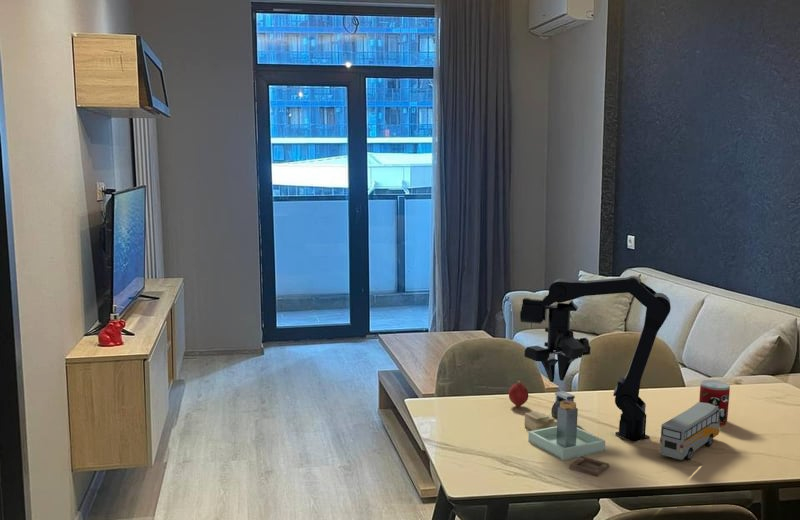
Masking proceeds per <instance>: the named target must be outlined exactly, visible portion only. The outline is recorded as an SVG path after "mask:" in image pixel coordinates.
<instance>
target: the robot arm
mask: <svg viewBox="0 0 800 520" xmlns="http://www.w3.org/2000/svg"><path fill="white" fill-rule="evenodd" d="M627 293H629V294H630V295H631V296H633V297H634V298H635V299H636V300H637V301H638V302H639V303H640V304H642V306H644V307H645V316H644V322H643V327H642V330H641V333H640V336H639V339H638V342H637V345H636V348H635V350H634V353H633V356H632V359H631V362H630V364H629V368H628V370H627V372H626V374H625V375H624V377H623V376H621V375H618V380H617V385H616V386H615V387H614V390H613V395H612V396H613V397H615V398H614V404H615V406H616V407H617V408H618V409H619V410H620V411H621V414H620V419H619V425H618V431H616V432H614V433H615V436H618V437H620V438H622V439H625V440H627V441H628V442H631V443H635V442H639V441H644V440H648V439H650V437H651V436H649V435H647V434H646V429H647V428H646V427H647V414H646V406H647V405H646V402H645V401H644V400H643V399H642V398H641V397H640V388H641V381H642V378H643V375H644V371H645V369H646V366H647V363H648V361H649V357H650V354H651V351H652V348H653V346H654V344H655V340H656V338H657V335H658V333H659V330H660V329H661V328H662V326H663V325H664V324H665V321H666V320H667V318H668V316H669V315H670V312H671V308H672V307H671V306H672V305H671V300H670V297H668V296H667V295H666V294H664V293H662V292H657V291H655V290H654V289H653V288H651V287H650V286H648V285H647V284H645V283H644V282H642V281H641V280H640V279H639V278H638V277H636V276H635V275H633V276H632V275H631V276H627V277H617V278H605V279H603V278H602V279H596V280H595V279H593V280H579V279H573V278H557V279H556V280H554V281H553V283H552V284H551V285H549V287H548V294H547V295H545V296H544V297H543V298H542V299H536V298H529V297H524V298H523V299H522V304H521V309H520V313H519V315H520V316H519V318H520V323H526V324H537V325H542V324H543V322H547V318H548V325H547V326H548V327H545V328H544V332H547V341H545V342H544V347H542V346H541V345H533V346H526V348H525V349H524V357H525V358H527V359H530V360H532V361H534V362H541V364H542V366H543V368H544V371H545V373H546V375H547V378H548V379H549V382H551V383H554V380H555V374H556V373H555V372H556V371H555V369H556V364H557V370H558V378H559V381H563V382H564V381H565V377H566V374H567V372H568V371H569V368H570V366H571V364H572V362H574V361H575V360H578V359H579V358H582V357H583V356H587V355H591V346H590V343H589V342H590V341H589V339H588V338H587V337H581V338H575V337H574V331H573V329H571V325H570V324H571V312H577V311H578V309H579V306H578V305H577V304H575V303H574V300H576V299H580V298H583V297H588V296H589V297H591V296H602V295H603V296H604V295H616V294H617V295H618V294H627ZM565 302H566V303H565ZM567 302H568V303H567ZM555 303H557V305H554V304H555ZM556 357H557V359H556Z"/></svg>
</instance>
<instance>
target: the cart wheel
mask: <svg viewBox="0 0 800 520" xmlns="http://www.w3.org/2000/svg"><path fill="white" fill-rule="evenodd" d="M554 395H555V401H554V404H552V406H551V407H552V408H551V416H552V417H554V418H556V419H557V417H558V406H560V401H564V400H568V401H573V402H575V398H576V396H575V395H573V394H572V393H569V392H568V391H567V392H566V391H564V390H560V391H555V392H554Z"/></svg>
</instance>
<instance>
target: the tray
mask: <svg viewBox="0 0 800 520" xmlns="http://www.w3.org/2000/svg"><path fill="white" fill-rule="evenodd" d="M556 439H557V426H554V427H549V428H544V429H539V430H534V431H531V430H529V431H528V443H531V444H533V445H534V446H536V447H537V448H540V449H542V450H543V451H545V452H547V453H549V454H551V455H552V456H554V457H556V458H558V459H559V460H561V461H566V460H571V459H575V458H580V457H581V456H583V457H586V456H588V455H594V454H596V453H597V454H598V453H602V452H605V451H606V440H604V439H603V438H601V437H599V436H596V435H594V434H592V433H589V432H588V431H586V430H584V429H582V428H580V427H578V426H577V436H576V446H572V447H567V448H565V447H563V446H561V445H559V444H557V443H556Z"/></svg>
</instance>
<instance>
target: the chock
mask: <svg viewBox="0 0 800 520" xmlns="http://www.w3.org/2000/svg"><path fill="white" fill-rule="evenodd" d="M524 426H525V427H527V428H528V429H527V428H526V429H527V430H529V429H530V430H529V431H531V430H532V431H534V430H539V429H544V428H549V427H554V426H557V419H556V418H554V417H552V415H550V414H545V413H543V412H540V411H538V410H536V411H529V412H525V413H524ZM524 426H523V427H524ZM525 427H524V428H525Z"/></svg>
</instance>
